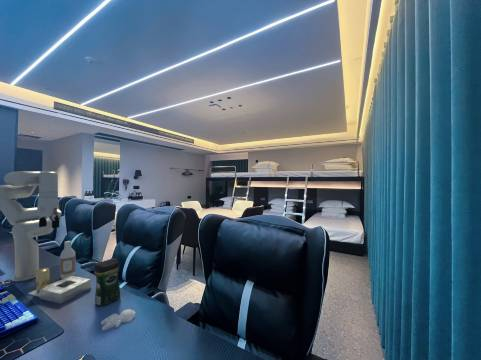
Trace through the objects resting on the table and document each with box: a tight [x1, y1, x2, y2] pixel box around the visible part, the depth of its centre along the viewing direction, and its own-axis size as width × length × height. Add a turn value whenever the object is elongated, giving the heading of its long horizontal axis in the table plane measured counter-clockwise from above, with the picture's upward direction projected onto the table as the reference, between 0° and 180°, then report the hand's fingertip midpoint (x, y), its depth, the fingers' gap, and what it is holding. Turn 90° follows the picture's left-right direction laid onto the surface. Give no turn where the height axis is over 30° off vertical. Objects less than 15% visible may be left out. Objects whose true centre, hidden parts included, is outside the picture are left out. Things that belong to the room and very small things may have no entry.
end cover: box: [35, 267, 51, 293], centre depth 105 cm, size 5×5×10 cm
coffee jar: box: [93, 257, 121, 307], centre depth 97 cm, size 10×8×19 cm
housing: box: [39, 275, 92, 305], centre depth 104 cm, size 14×14×4 cm
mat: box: [27, 289, 40, 298], centre depth 106 cm, size 8×8×1 cm
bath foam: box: [59, 240, 77, 280], centre depth 121 cm, size 7×7×20 cm
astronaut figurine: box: [100, 308, 137, 331], centre depth 84 cm, size 9×12×3 cm
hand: (49, 227), depth 112 cm, fingers open, 9 cm apart
